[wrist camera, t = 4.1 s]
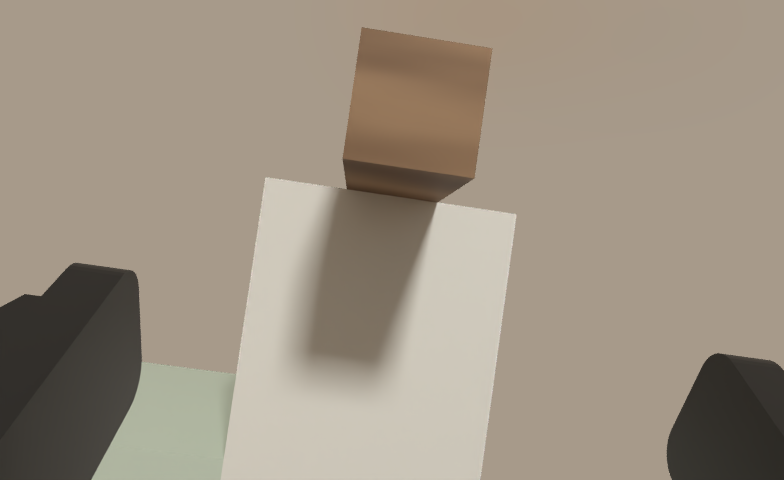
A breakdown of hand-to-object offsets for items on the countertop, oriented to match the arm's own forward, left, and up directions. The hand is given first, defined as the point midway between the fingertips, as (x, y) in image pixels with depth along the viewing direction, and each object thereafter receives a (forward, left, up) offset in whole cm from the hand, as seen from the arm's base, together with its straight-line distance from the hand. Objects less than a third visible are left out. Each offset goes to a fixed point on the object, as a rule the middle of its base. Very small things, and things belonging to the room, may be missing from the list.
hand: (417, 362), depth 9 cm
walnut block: (0, -20, +4) cm, 20 cm away
